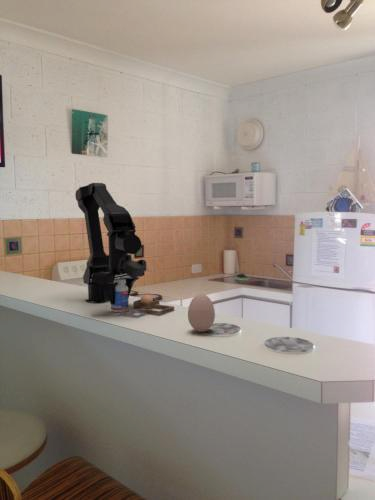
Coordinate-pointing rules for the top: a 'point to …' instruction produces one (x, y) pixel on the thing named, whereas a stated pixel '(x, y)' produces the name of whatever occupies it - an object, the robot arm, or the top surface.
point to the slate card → (132, 314)
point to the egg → (201, 313)
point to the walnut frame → (145, 304)
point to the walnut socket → (153, 312)
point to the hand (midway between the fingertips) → (119, 302)
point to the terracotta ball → (146, 299)
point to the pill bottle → (120, 296)
